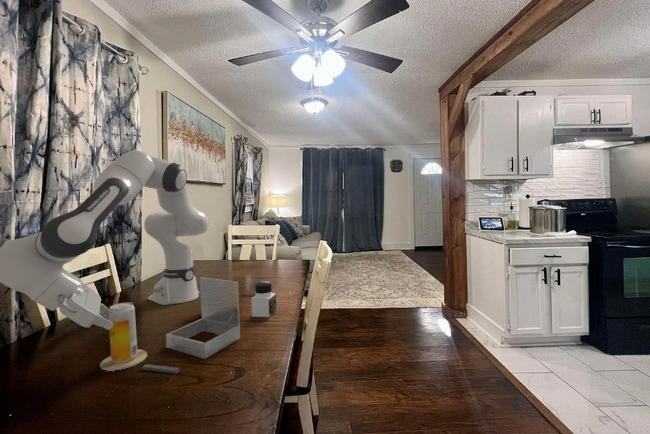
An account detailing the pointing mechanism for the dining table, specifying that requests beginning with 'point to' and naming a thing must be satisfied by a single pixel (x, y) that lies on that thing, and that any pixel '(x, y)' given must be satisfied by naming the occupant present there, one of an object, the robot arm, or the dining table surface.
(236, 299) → the case
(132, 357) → the beer can
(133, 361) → the pad
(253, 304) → the medicine bottle
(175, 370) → the bar
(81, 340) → the dining table surface
